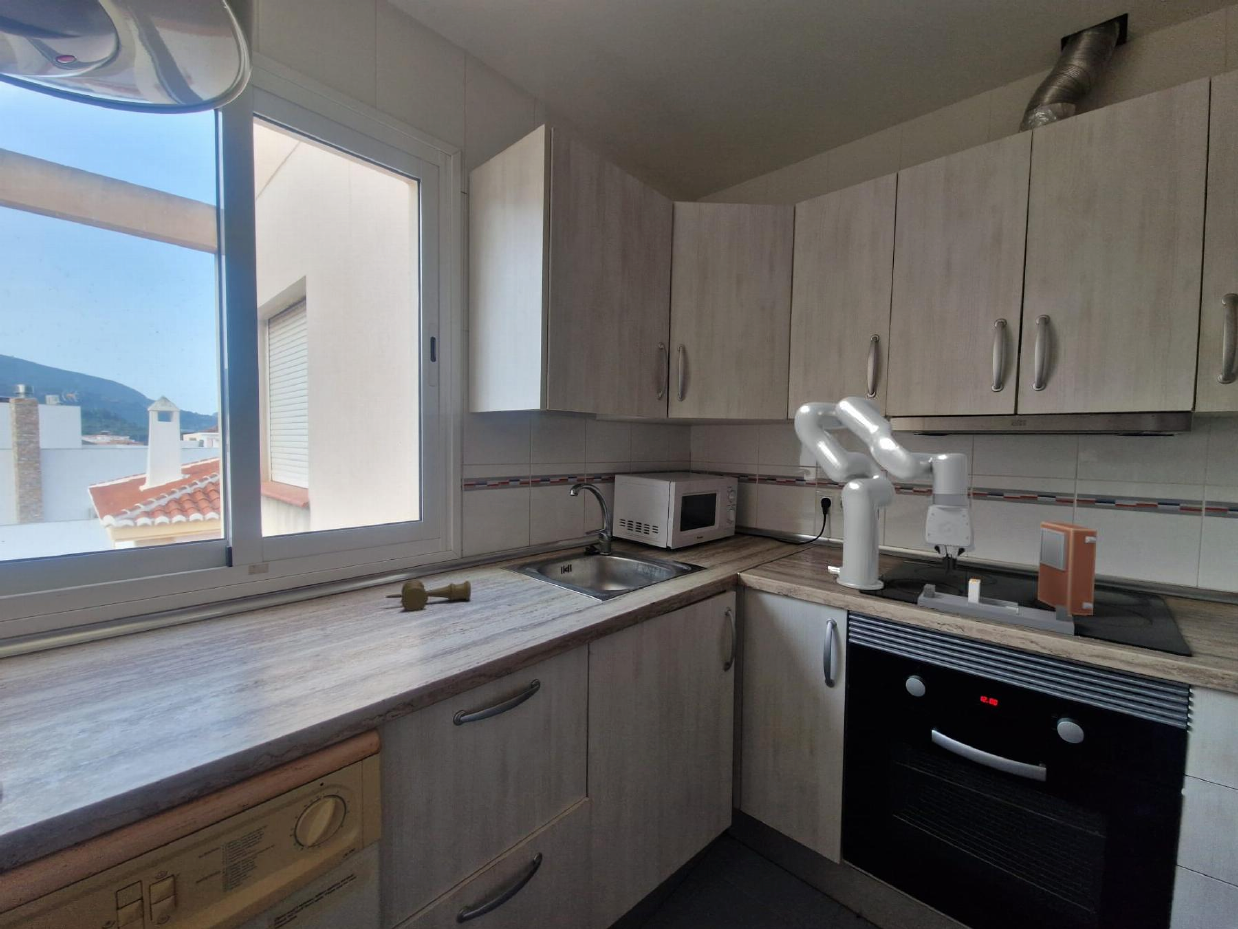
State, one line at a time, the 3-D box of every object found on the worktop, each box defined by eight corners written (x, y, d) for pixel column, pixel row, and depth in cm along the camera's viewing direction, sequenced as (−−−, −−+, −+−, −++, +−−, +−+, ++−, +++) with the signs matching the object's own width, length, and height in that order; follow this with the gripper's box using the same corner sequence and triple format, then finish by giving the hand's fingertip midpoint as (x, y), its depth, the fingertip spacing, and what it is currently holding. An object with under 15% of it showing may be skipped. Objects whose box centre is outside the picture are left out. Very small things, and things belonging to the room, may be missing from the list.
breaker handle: (968, 603, 125) (969, 581, 125) (969, 599, 129) (970, 577, 128) (977, 605, 124) (978, 582, 124) (979, 601, 127) (980, 579, 127)
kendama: (473, 606, 126) (385, 614, 118) (467, 597, 135) (385, 604, 127) (473, 583, 126) (386, 589, 118) (468, 575, 135) (386, 580, 127)
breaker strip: (917, 606, 130) (918, 588, 130) (924, 597, 137) (924, 581, 137) (1073, 635, 111) (1074, 615, 110) (1071, 623, 118) (1072, 604, 118)
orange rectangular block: (1059, 600, 137) (1100, 618, 122) (1030, 598, 138) (1067, 615, 124) (1063, 521, 136) (1104, 530, 122) (1033, 520, 138) (1071, 529, 123)
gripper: (913, 500, 131) (913, 571, 131) (984, 503, 121) (984, 579, 121) (918, 499, 137) (918, 566, 137) (986, 501, 127) (986, 573, 127)
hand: (949, 572), depth 129 cm, fingers closed
